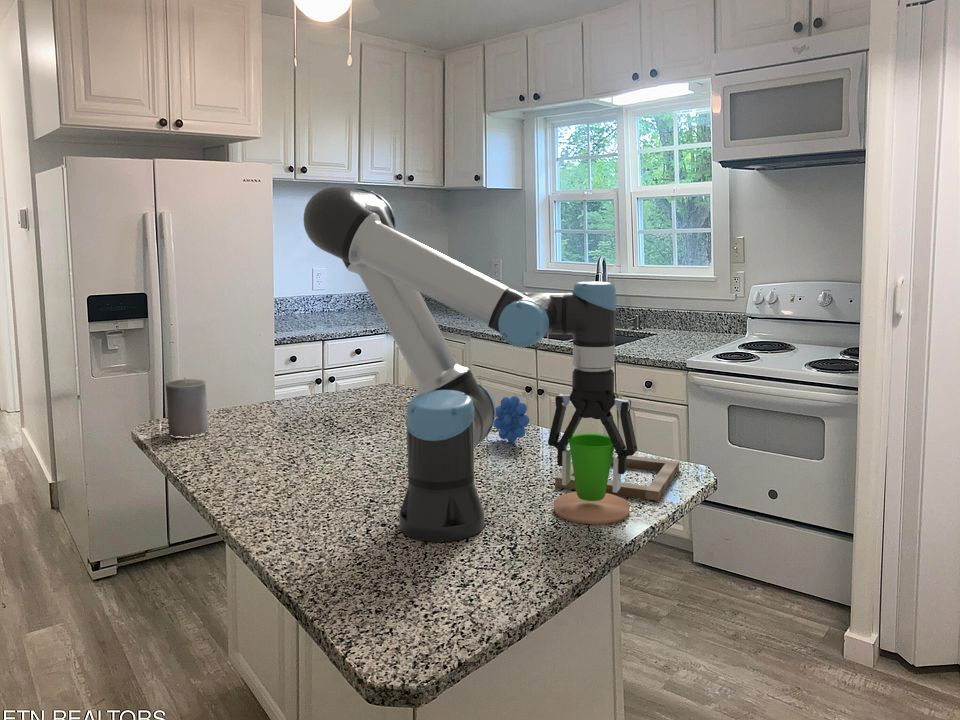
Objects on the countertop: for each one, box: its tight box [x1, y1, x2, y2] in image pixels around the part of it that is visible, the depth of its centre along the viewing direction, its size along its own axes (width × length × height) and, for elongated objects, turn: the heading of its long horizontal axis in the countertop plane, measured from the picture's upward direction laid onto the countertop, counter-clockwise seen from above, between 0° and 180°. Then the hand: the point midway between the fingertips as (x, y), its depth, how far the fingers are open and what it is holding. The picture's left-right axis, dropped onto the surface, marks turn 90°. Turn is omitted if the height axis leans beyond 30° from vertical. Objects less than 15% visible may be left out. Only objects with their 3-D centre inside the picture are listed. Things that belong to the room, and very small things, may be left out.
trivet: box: [553, 491, 630, 525], centre depth 143 cm, size 14×14×1 cm
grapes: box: [493, 395, 530, 444], centre depth 188 cm, size 12×7×12 cm, turn 42°
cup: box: [567, 432, 615, 501], centre depth 142 cm, size 9×9×11 cm
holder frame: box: [554, 453, 680, 502], centre depth 161 cm, size 21×21×2 cm
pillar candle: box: [165, 377, 209, 436], centre depth 197 cm, size 10×10×15 cm
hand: (591, 486), depth 142 cm, fingers closed on cup, 9 cm apart
